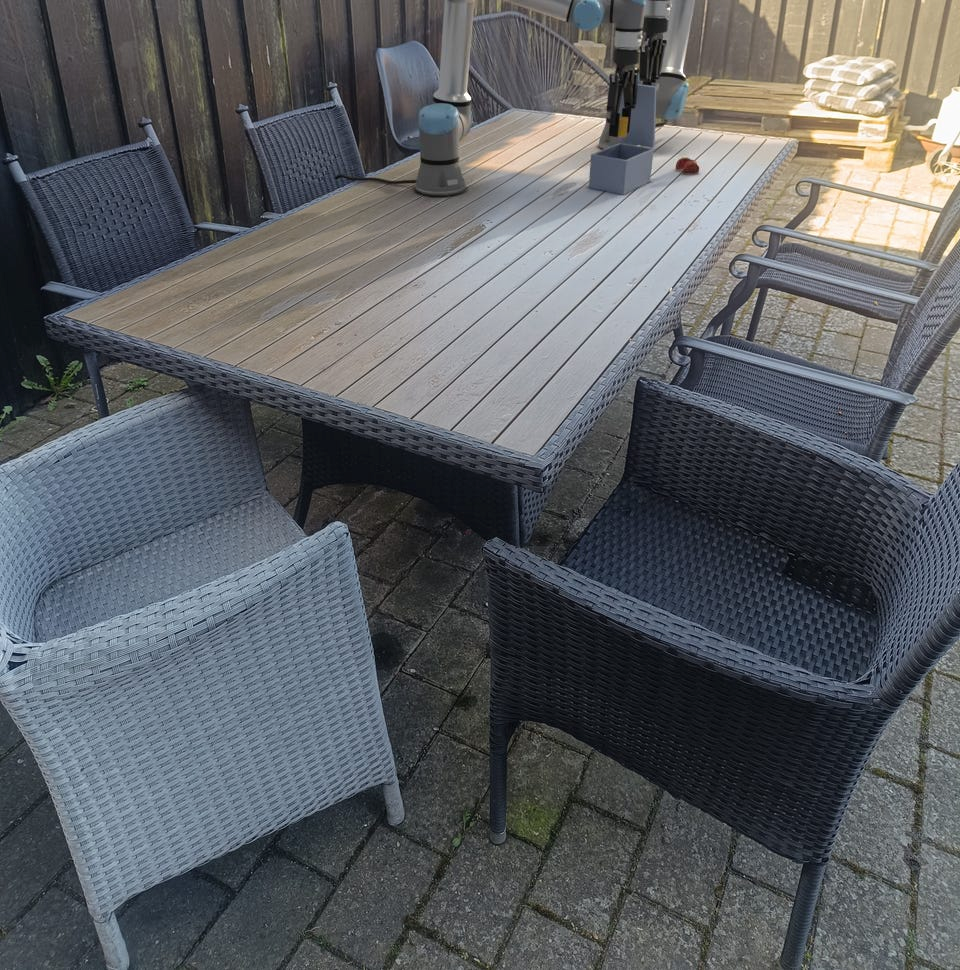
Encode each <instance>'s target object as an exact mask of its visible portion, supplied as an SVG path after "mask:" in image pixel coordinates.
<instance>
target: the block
mask: <svg viewBox="0 0 960 970" xmlns="http://www.w3.org/2000/svg"><path fill="white" fill-rule="evenodd" d="M627 127H628V117H620V120H619V130H618V137H626V134H627Z"/></svg>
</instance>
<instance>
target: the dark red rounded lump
mask: <svg viewBox="0 0 960 970" xmlns="http://www.w3.org/2000/svg"><path fill="white" fill-rule="evenodd" d="M675 170H681V173H682V174H683V175H690V174H698V173H699V172H700V166H699V164H698V162H697V160H695V159H691V158H690V157H686V156H685V157H681V158H679V159H678V160H677V162H676V164H675Z"/></svg>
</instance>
